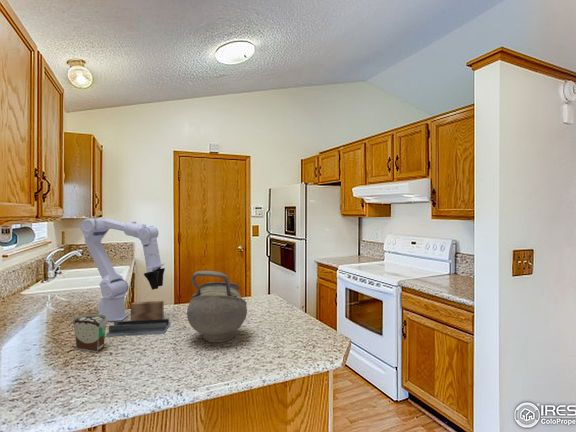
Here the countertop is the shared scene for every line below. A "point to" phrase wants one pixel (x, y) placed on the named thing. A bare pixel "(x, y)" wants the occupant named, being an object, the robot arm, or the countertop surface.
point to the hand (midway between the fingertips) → (157, 287)
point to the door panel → (147, 310)
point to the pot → (216, 308)
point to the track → (138, 327)
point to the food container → (90, 332)
